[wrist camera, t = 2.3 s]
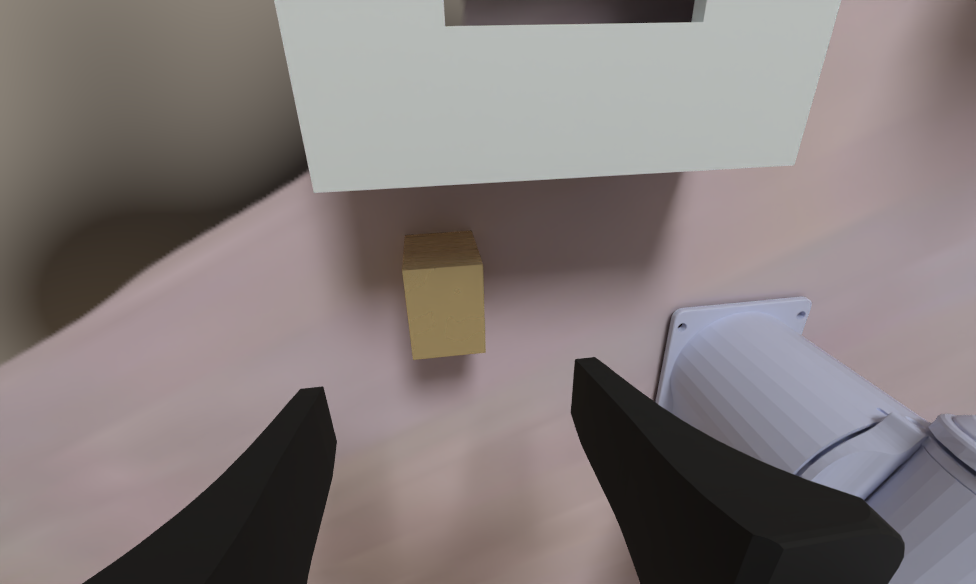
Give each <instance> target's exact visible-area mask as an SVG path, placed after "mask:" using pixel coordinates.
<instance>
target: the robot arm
mask: <svg viewBox="0 0 976 584" xmlns="http://www.w3.org/2000/svg"><path fill="white" fill-rule="evenodd" d="M811 305H812V303H811V301H810V300H809V299H807V298H806V297H792V298H781V299H771V300H761V301H750V302H740V303H729V304H719V305H708V306H698V307H688V308H680V309H678V310H676V311H675V312H674V313H673V315H672V317H671V322H670V328H669V333H668V338H667V344H666V349H665V354H664V359H663V365H662V370H661V375H660V380H659V386H658V391H657V396H656V401H655V402H654V401H653V400H651V399H650V398H648V397H647V396H646V395H644V394H643V393H642V392H640V391H639V390H637V389H636V388H635V387H633V386H632V385H631V384H629V383H628V382H627V381H626V380H624V379H623V378H622V377H620V376H619V375H618V374H616V373H615V372H614V371H613V370H611V369H610V368H609V367H607V366H606V365H605V364H604V363H602V362H601V361H600V360H598V359H597V358H595V357H592V358H583V359H575V367H574V379H573V392H572V404H571V415H572V418H573V421H574V424H575V427H576V431H577V433H578V436H579V439H580V442H581V445H582V447H583V449H584V451H585V453H586V455H587V458H588V460H589V462H590V464H591V466H592V468H593V470H594V472H595V474H596V477H597V479H598V481H599V483H600V485H601V487H602V489H603V491H604V493H605V495H606V497H607V499H608V501H609V504H610V506H611V508H612V510H613V512H614V514H615V516H616V519H617V521H618V523H619V526H620V528H621V531H622V533H623V536H624V539H625V542H626V544H627V547H628V550H629V553H630V555H631V558H632V561H633V564H634V566H635V569H636V572H637V575H638V578H639V581H640V584H976V415H953V414H940V415H939V416H938V417H937V418H936V420H935V421H934V422H933V423H930V422H928V421H926V420H925V419H923V418H922V417H920V416H919V415H917V414H916V413H915V412H913V411H912V410H910V409H909V408H907V407H906V406H904V405H903V404H901V403H900V402H898V401H897V400H895V399H894V398H893V397H891V396H890V395H888V394H887V393H885V392H884V391H882V390H881V389H879V388H878V387H876V386H875V385H873V384H872V383H871V382H869V381H868V380H866V379H865V378H863V377H862V376H860V375H859V374H857V373H856V372H854V371H853V370H852V369H850V368H849V367H847V366H846V365H844V364H843V363H841V362H840V361H838V360H837V359H835V358H834V357H832V356H831V355H830V354H828V353H827V352H825V351H824V350H822V349H821V348H819V347H818V346H816V345H815V344H813V343H812V342H810V341H809V340H808V339H806V338H805V337H803V336H802V335H801V334H802V332H803V329H804V326H805V323H806V320H807V317H808V315H809V312H810V309H811ZM798 313H799V314H798ZM797 314H798V315H797ZM682 323H683V324H682ZM680 324H682V326H681V327H679V328H678V326H679V325H680ZM336 444H337V440H336V436H335V432H334V428H333V424H332V420H331V416H330V412H329V408H328V404H327V400H326V396H325V392H324V388H323V387H314V388H305V389H300V390H299V391H298V392H297V393H296V395H295V396H294V397H293V398H292V399H291V400H290V401H289V402H288V404H287V405H286V406H285V407H284V408H283V409H282V411H281V412H280V413H279V414H278V415H277V416H276V417H275V419H274V420H273V421H272V422H271V423H270V424H269V426H268V427H267V428H266V429H265V430H264V431H263V432H262V433H261V434H260V435H259V437H258V438H257V439H256V440H255V441H254V442H253V443H252V444H251V445H250V447H249V448H248V449H247V450H246V451H245V452H244V453H243V454H242V455H241V456H240V457H239V458H238V459H237V460H236V461H235V462H234V463H233V464H232V465H231V466H230V467H229V468H228V469H227V470H226V471H225V472H224V473H223V474H222V475H221V476H220V477H219V478H218V479H217V480H216V481H215V482H214V483H212V484H211V485H210V486H209V487H208V488H207V489H206V490H205V491H204V492H202V493H201V494H200V495H199V496H198V497H197V498H196V499H194V500H193V501H192V502H191V503H190V504H189V505H188V506H186V507H185V508H184V509H183V510H182V511H180V512H179V513H178V514H177V515H175V516H174V517H173V518H172V519H170V520H169V521H168V522H167V523H165V524H164V525H163V526H161V527H160V528H159V529H158V530H156V531H155V532H154V533H152V534H151V535H150V536H149V537H147V538H146V539H145V540H143V541H142V542H141V543H140V544H138V545H137V546H136V547H134V548H133V549H131V550H130V551H129V552H127V553H126V554H124V555H123V556H122V557H120V558H119V559H117V560H116V561H115V562H113V563H112V564H110V565H109V566H108V567H106V568H105V569H103V570H102V571H100V572H99V573H97V574H96V575H94V576H93V577H91V578H90V579H88V580H87V581H85V582H84V583H82V584H307V579H308V574H309V569H310V565H311V560H312V556H313V552H314V548H315V544H316V540H317V536H318V532H319V528H320V525H321V521H322V517H323V513H324V509H325V505H326V501H327V497H328V493H329V489H330V485H331V481H332V476H333V469H334V462H335V453H336Z"/></svg>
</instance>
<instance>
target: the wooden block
mask: <svg viewBox="0 0 976 584" xmlns="http://www.w3.org/2000/svg"><path fill="white" fill-rule="evenodd" d="M402 274H403V282H404V290H405V298H406V306H407V315H408V323H409V331H410V339H411V347H412V355H413V360H417V359H427V358H437V357H446V356H456V355H466V354H476V353H486V351H485V318H484V285H483V263H482V260H481V257H480V254H479V251H478V249H477V246H476V243H475V240H474V237H473V234H472V231H460V232H446V233H431V234H416V235H405V241H404V254H403V266H402Z"/></svg>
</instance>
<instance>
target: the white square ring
mask: <svg viewBox="0 0 976 584" xmlns="http://www.w3.org/2000/svg"><path fill="white" fill-rule="evenodd" d="M274 2H275V6H276V12H277V17H278V22H279V26H280V31H281V36H282V41H283V46H284V50H285V55H286V60H287V65H288V70H289V75H290V80H291V84H292V89H293V94H294V99H295V104H296V109H297V113H298V118H299V123H300V128H301V133H302V138H303V143H304V147H305V152H306V157H307V162H308V167H309V172H310V176H311V181H312V186H313V191H314V193H322V192H339V191H357V190H374V189H391V188H409V187H426V186H443V185H461V184H478V183H495V182H512V181H530V180H547V179H564V178H582V177H599V176H616V175H634V174H651V173H668V172H686V171H703V170H720V169H738V168H755V167H772V166H789V165H794V164H795V161H796V157H797V154H798V150H799V147H800V143H801V140H802V136H803V133H804V129H805V126H806V122H807V119H808V115H809V112H810V108H811V105H812V101H813V98H814V94H815V91H816V87H817V84H818V80H819V77H820V73H821V70H822V66H823V63H824V59H825V56H826V52H827V49H828V45H829V42H830V38H831V35H832V31H833V28H834V24H835V20H836V17H837V13H838V10H839V6H840V3H841V0H695V2H694V9H693V15H692V21H691V22H679V23H616V24H553V25H490V26H445V17H444V16H445V15H444V0H274Z"/></svg>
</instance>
